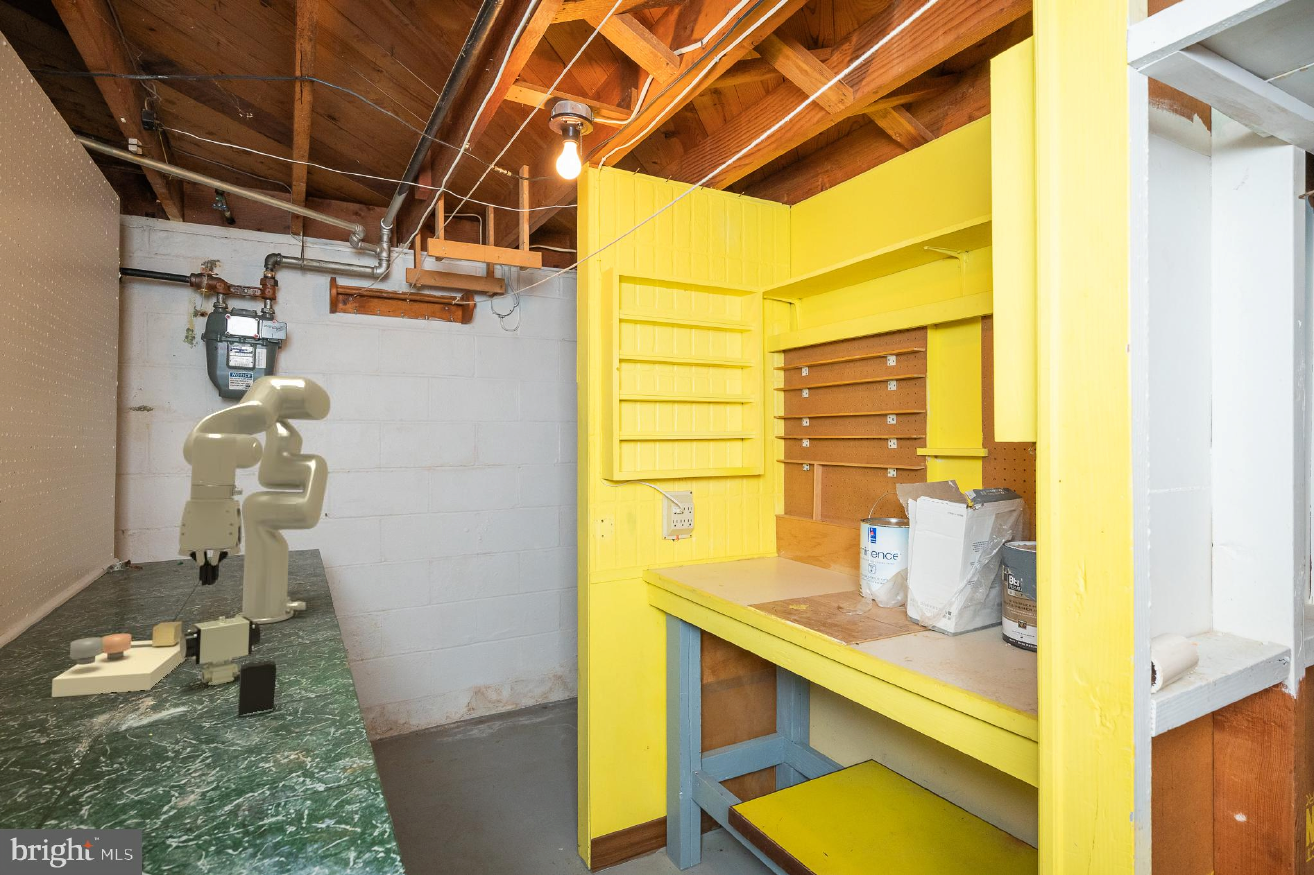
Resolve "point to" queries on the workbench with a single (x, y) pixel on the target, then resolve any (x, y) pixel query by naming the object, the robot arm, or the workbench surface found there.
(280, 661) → the workbench surface
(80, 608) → the workbench surface
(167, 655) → the control panel
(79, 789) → the workbench surface
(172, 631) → the brass slider
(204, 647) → the pneumatic valve
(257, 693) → the ink cartridge
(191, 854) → the workbench surface
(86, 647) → the grey button
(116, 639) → the terracotta button
